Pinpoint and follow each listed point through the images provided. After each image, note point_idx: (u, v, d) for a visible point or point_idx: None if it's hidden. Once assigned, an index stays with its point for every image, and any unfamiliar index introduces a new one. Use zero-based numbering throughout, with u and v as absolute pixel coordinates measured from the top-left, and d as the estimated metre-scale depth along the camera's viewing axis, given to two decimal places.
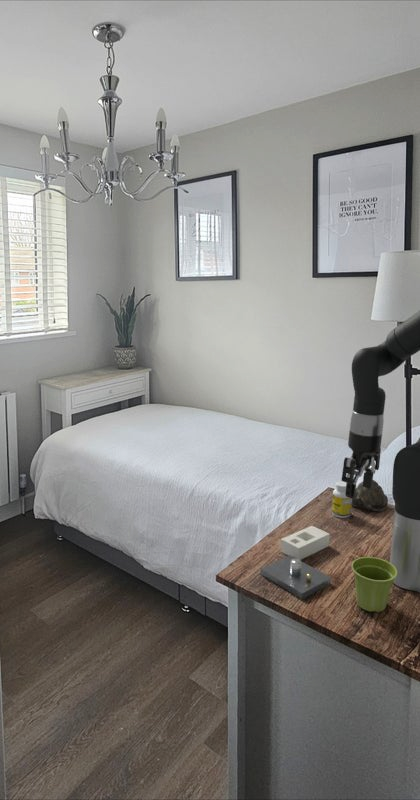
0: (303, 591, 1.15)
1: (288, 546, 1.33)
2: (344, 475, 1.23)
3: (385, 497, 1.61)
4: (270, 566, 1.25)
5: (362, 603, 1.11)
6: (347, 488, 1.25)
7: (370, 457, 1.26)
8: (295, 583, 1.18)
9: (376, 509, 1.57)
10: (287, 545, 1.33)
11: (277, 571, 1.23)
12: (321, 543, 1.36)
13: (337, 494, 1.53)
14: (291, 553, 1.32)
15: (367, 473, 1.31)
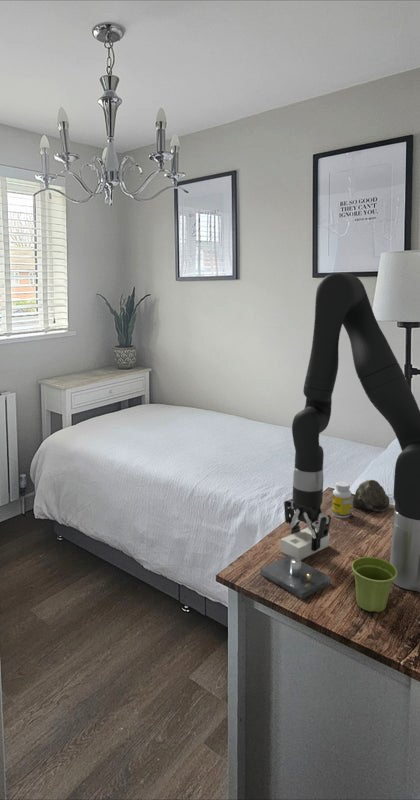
0: (303, 591, 1.15)
1: (288, 546, 1.33)
2: None
3: (386, 497, 1.61)
4: (270, 566, 1.25)
5: (362, 603, 1.11)
6: (317, 543, 1.32)
7: None
8: (295, 583, 1.18)
9: (377, 509, 1.57)
10: (287, 545, 1.33)
11: (277, 571, 1.23)
12: (321, 543, 1.36)
13: (337, 494, 1.53)
14: (291, 553, 1.32)
15: (296, 527, 1.38)
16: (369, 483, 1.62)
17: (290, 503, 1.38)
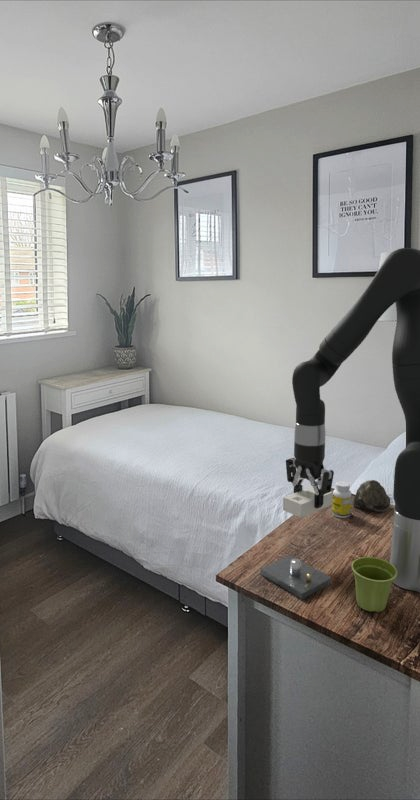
0: (303, 591, 1.15)
1: (290, 504, 1.30)
2: None
3: (387, 498, 1.61)
4: (270, 566, 1.25)
5: (362, 603, 1.11)
6: (320, 499, 1.29)
7: None
8: (295, 583, 1.18)
9: (378, 510, 1.57)
10: (289, 503, 1.30)
11: (277, 571, 1.23)
12: (324, 501, 1.33)
13: (337, 494, 1.53)
14: (293, 511, 1.29)
15: (298, 486, 1.35)
16: (370, 483, 1.61)
17: (292, 461, 1.35)
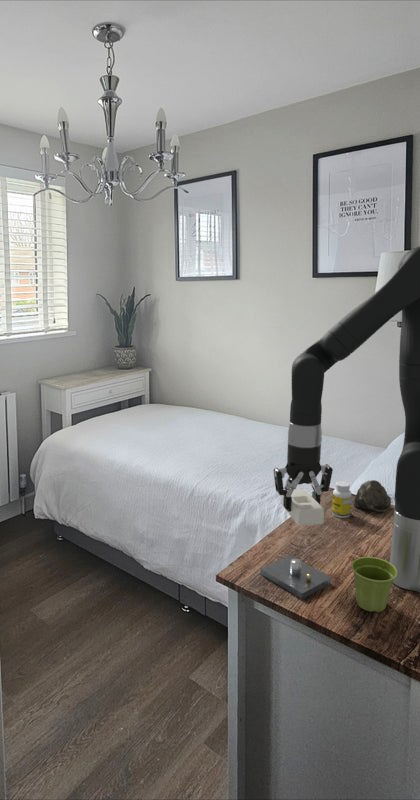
0: (303, 591, 1.15)
1: (309, 515, 1.18)
2: None
3: (388, 498, 1.61)
4: (270, 566, 1.25)
5: (362, 603, 1.11)
6: None
7: None
8: (295, 583, 1.18)
9: (378, 510, 1.56)
10: (308, 514, 1.18)
11: (277, 571, 1.23)
12: None
13: (337, 494, 1.53)
14: (314, 520, 1.18)
15: None
16: (371, 483, 1.61)
17: (282, 471, 1.20)
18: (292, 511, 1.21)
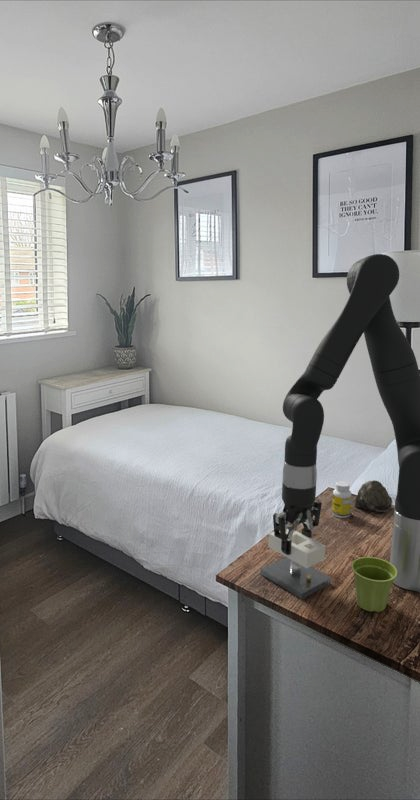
0: (303, 591, 1.15)
1: (314, 555, 1.16)
2: None
3: (389, 498, 1.60)
4: (270, 566, 1.25)
5: (362, 603, 1.11)
6: None
7: None
8: (295, 583, 1.18)
9: (379, 510, 1.56)
10: (314, 554, 1.16)
11: (277, 571, 1.23)
12: None
13: (337, 494, 1.53)
14: (318, 558, 1.17)
15: None
16: (372, 484, 1.61)
17: (283, 516, 1.16)
18: (293, 554, 1.18)
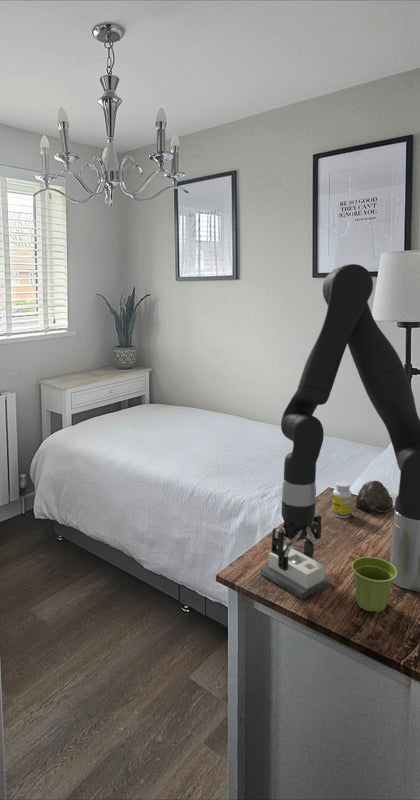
0: (303, 591, 1.15)
1: (314, 575, 1.17)
2: None
3: (390, 498, 1.60)
4: None
5: (362, 603, 1.11)
6: None
7: None
8: (295, 583, 1.18)
9: (380, 510, 1.56)
10: (314, 574, 1.17)
11: None
12: None
13: (337, 494, 1.53)
14: (318, 579, 1.18)
15: None
16: (372, 484, 1.61)
17: (283, 531, 1.16)
18: (293, 574, 1.19)
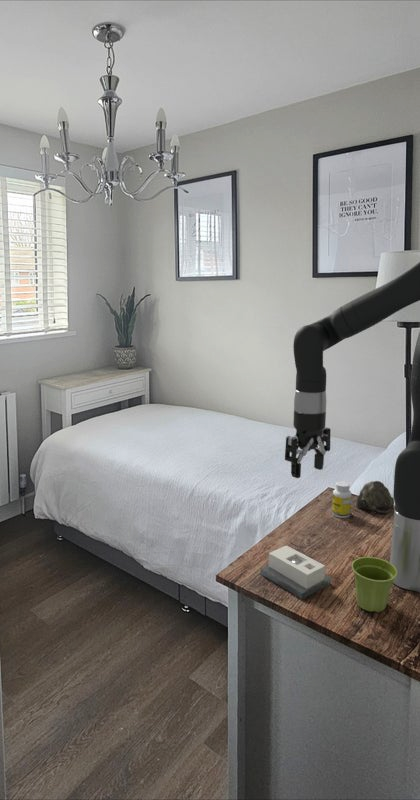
0: (303, 591, 1.15)
1: (314, 575, 1.17)
2: None
3: (391, 499, 1.60)
4: None
5: (362, 603, 1.11)
6: None
7: None
8: (295, 583, 1.18)
9: (381, 511, 1.56)
10: (314, 574, 1.17)
11: None
12: None
13: (337, 494, 1.53)
14: (318, 579, 1.18)
15: None
16: (374, 484, 1.61)
17: None
18: (293, 574, 1.19)
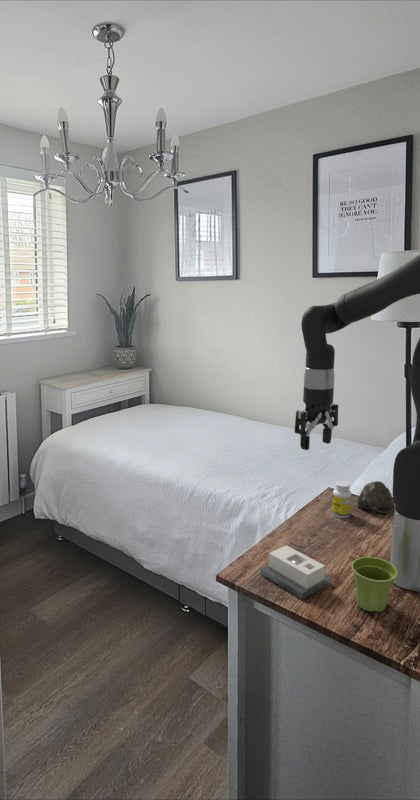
0: (303, 591, 1.15)
1: (314, 575, 1.17)
2: None
3: (392, 499, 1.60)
4: None
5: (362, 603, 1.11)
6: None
7: None
8: (295, 583, 1.18)
9: (382, 511, 1.56)
10: (314, 574, 1.17)
11: None
12: None
13: (337, 494, 1.53)
14: (318, 579, 1.18)
15: None
16: (374, 484, 1.61)
17: None
18: (293, 574, 1.19)
